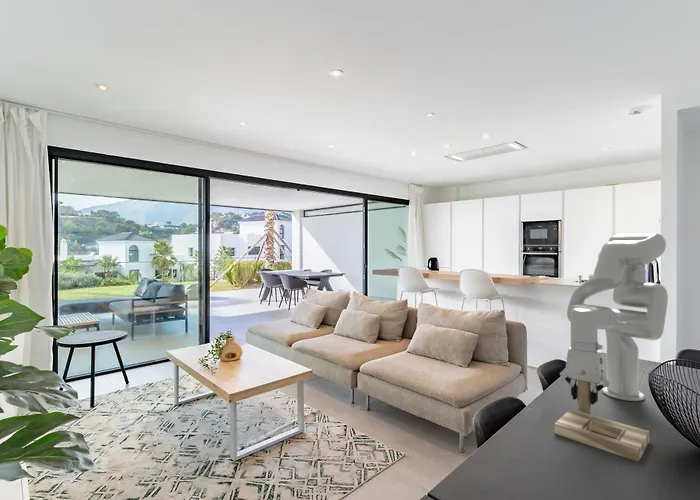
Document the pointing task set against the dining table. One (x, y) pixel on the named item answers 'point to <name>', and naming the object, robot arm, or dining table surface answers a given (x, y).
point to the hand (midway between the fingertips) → (584, 400)
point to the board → (582, 425)
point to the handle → (584, 395)
